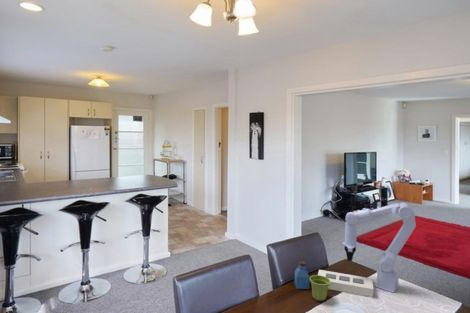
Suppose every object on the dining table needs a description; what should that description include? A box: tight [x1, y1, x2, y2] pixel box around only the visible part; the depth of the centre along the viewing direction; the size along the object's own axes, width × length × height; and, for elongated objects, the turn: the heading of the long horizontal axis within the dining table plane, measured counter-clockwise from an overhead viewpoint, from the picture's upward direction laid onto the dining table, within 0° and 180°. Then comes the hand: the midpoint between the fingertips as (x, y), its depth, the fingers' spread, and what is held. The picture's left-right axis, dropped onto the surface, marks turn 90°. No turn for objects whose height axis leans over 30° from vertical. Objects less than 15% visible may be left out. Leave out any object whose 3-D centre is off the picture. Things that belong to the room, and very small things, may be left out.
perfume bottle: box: [293, 260, 311, 290], centre depth 153 cm, size 6×6×12 cm
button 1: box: [326, 273, 336, 279], centre depth 156 cm, size 4×4×4 cm
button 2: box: [353, 278, 363, 284], centre depth 151 cm, size 4×4×4 cm
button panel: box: [317, 269, 374, 298], centre depth 154 cm, size 26×12×4 cm, turn 69°
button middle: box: [340, 276, 349, 282], centre depth 154 cm, size 4×4×4 cm
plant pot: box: [309, 274, 331, 302], centre depth 142 cm, size 9×9×9 cm
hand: (349, 260), depth 161 cm, fingers closed
